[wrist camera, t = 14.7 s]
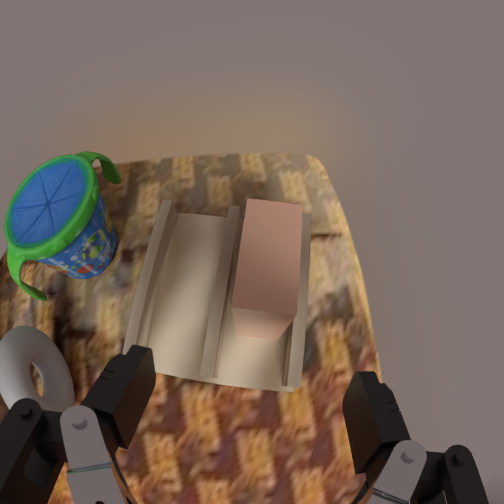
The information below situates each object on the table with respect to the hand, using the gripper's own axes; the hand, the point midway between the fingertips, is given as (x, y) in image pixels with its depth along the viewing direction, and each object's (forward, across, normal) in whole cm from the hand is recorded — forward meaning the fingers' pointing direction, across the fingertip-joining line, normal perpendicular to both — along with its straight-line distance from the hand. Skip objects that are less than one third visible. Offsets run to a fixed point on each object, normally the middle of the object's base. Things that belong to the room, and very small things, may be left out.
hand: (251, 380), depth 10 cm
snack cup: (+18, +19, +3) cm, 26 cm away
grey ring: (+7, +18, +14) cm, 24 cm away
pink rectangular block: (+15, 0, +4) cm, 15 cm away
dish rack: (+15, +3, +5) cm, 17 cm away
